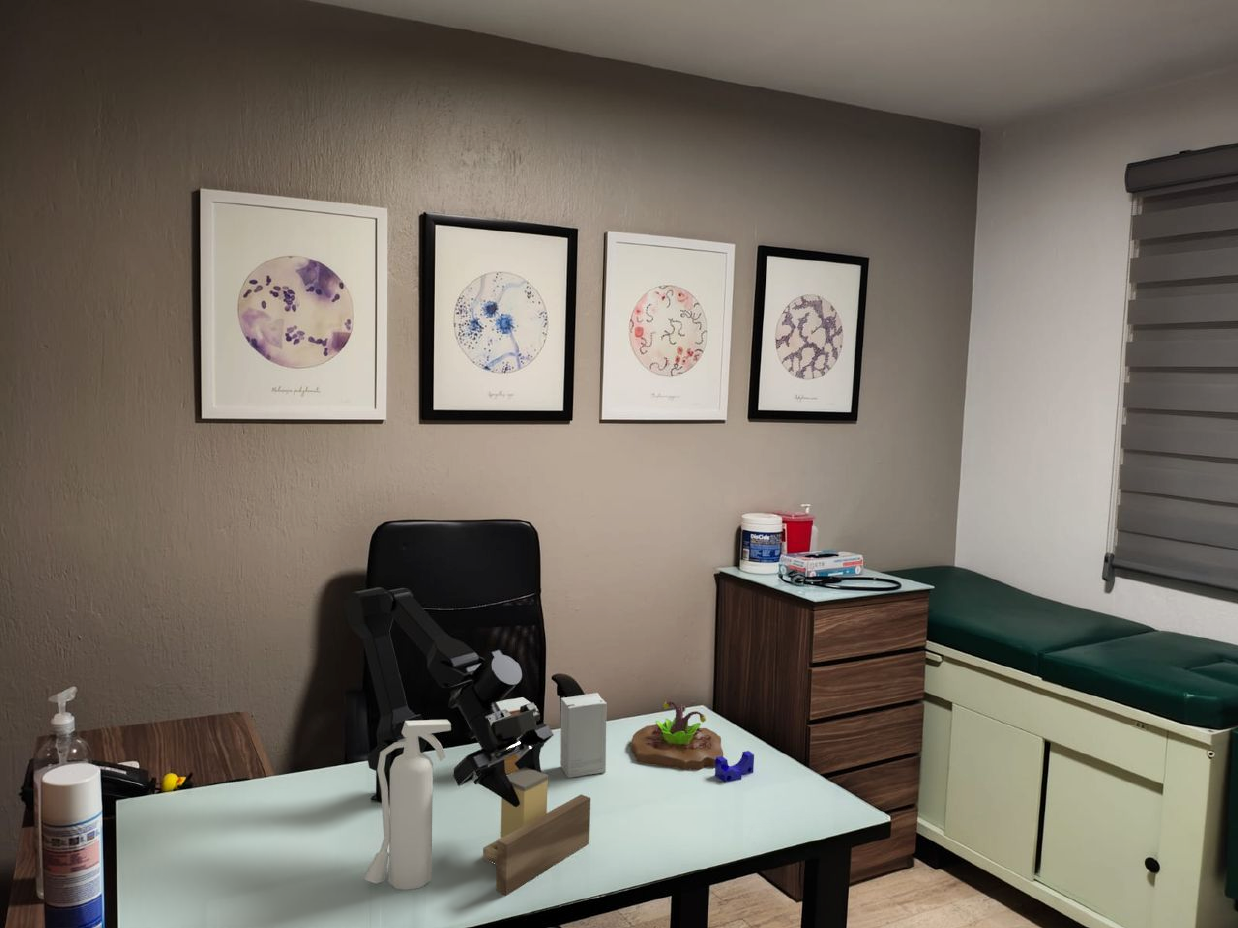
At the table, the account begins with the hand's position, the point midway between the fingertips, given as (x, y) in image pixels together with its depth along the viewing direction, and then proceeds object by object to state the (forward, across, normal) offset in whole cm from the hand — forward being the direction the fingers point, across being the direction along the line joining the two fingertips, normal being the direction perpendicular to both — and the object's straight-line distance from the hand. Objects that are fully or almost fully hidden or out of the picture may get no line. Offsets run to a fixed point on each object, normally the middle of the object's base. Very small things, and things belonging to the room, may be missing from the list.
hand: (530, 799), depth 141 cm
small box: (-12, +23, +26) cm, 37 cm away
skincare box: (-3, +31, +18) cm, 36 cm away
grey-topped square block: (+4, 0, +6) cm, 7 cm away
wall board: (+6, 0, +8) cm, 10 cm away
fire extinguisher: (0, -17, +15) cm, 22 cm away
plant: (+4, +53, +12) cm, 54 cm away
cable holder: (+15, +50, 0) cm, 52 cm away
